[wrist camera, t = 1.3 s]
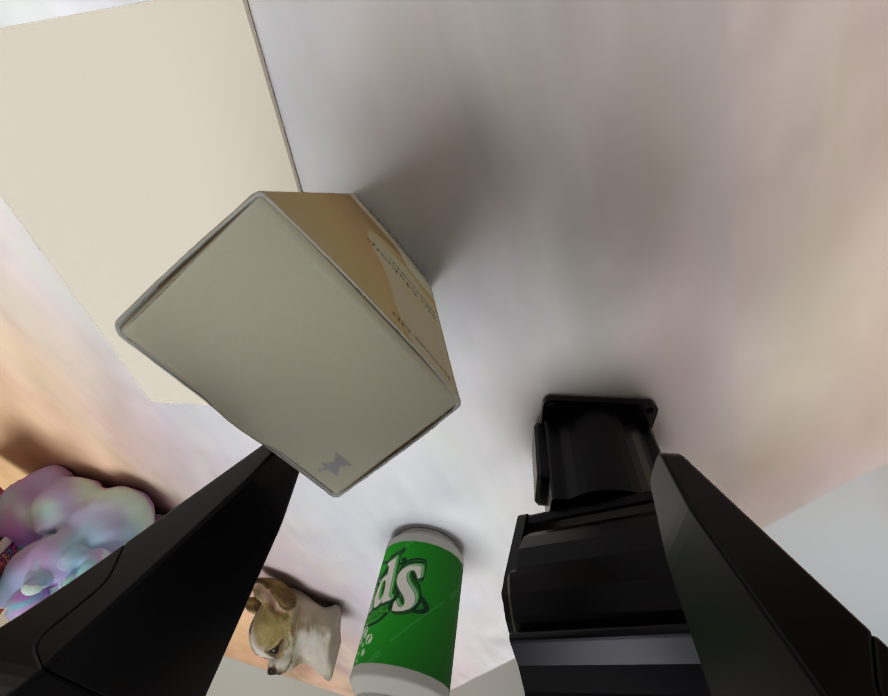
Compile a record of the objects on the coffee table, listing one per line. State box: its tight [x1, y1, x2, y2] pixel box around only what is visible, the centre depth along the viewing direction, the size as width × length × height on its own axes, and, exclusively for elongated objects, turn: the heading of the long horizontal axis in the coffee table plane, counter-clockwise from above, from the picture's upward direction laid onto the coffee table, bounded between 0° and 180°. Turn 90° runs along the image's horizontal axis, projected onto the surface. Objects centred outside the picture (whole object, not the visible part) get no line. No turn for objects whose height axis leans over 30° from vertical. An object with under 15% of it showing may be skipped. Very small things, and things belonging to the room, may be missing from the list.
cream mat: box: [0, 0, 302, 405], centre depth 21 cm, size 18×22×1 cm
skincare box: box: [115, 191, 461, 497], centre depth 13 cm, size 6×4×12 cm
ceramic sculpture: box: [245, 578, 341, 681], centre depth 46 cm, size 11×9×15 cm
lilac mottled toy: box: [0, 465, 164, 621], centre depth 36 cm, size 20×22×18 cm
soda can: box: [350, 528, 464, 696], centre depth 31 cm, size 8×8×12 cm
